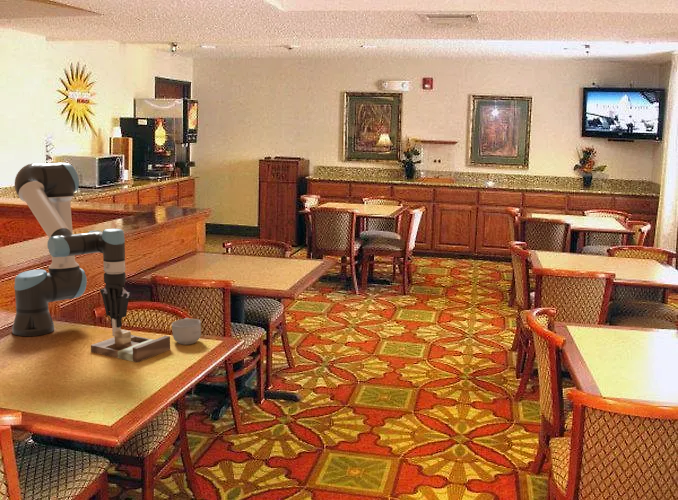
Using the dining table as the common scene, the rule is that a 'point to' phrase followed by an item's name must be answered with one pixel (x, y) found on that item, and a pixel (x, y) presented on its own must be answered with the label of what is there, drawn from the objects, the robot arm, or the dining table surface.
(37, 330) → the robot arm
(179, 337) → the teacup
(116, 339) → the block
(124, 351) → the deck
